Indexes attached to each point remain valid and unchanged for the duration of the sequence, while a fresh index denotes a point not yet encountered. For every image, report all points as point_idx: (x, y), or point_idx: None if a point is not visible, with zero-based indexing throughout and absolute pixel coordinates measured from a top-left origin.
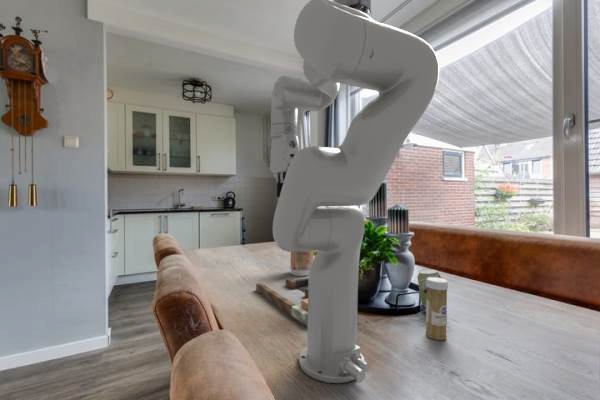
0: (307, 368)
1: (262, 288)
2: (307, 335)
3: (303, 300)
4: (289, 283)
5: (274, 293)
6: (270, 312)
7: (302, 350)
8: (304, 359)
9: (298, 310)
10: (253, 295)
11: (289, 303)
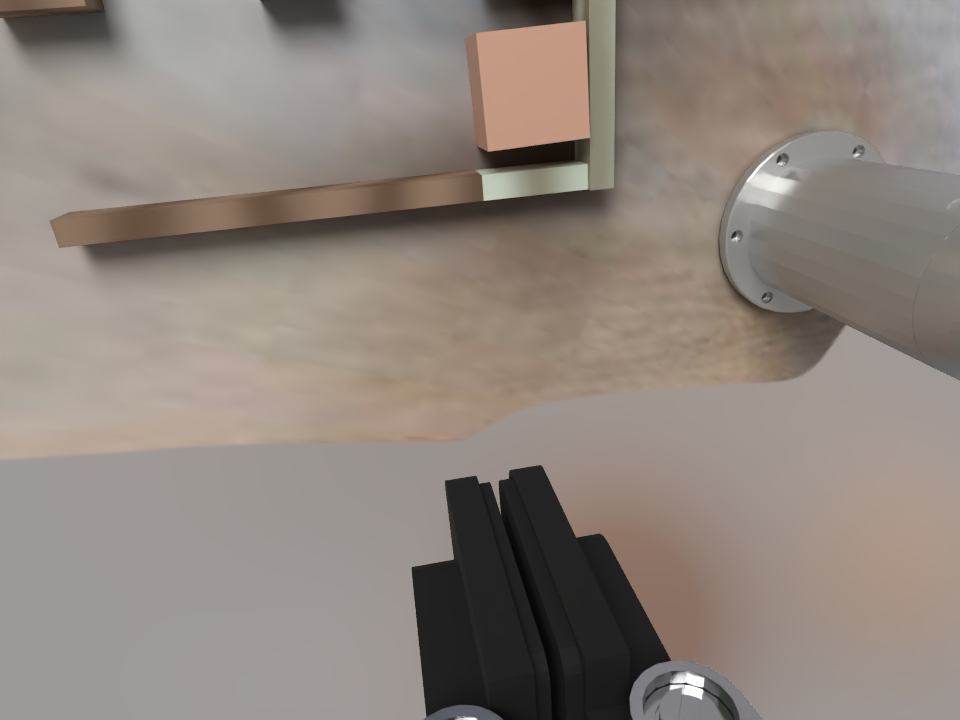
0: (808, 308)
1: (157, 235)
2: (801, 301)
3: (498, 144)
4: (51, 11)
5: (286, 210)
6: (410, 263)
7: (741, 285)
8: (777, 299)
9: (538, 192)
10: (164, 273)
11: (449, 195)
